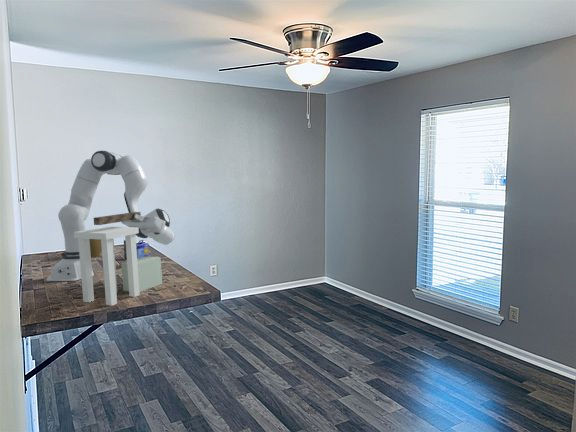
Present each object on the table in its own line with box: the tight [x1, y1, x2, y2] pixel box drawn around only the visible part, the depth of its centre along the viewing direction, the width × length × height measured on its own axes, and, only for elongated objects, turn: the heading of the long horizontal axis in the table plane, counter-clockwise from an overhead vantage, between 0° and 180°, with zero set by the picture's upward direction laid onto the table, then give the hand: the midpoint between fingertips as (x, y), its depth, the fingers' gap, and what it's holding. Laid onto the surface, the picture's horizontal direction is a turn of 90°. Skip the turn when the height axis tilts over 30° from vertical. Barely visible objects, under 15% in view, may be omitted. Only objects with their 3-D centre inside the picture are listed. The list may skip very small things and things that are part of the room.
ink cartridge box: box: [136, 239, 150, 259], centre depth 259 cm, size 10×6×14 cm, turn 158°
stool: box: [74, 226, 141, 307], centre depth 188 cm, size 18×18×30 cm
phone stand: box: [123, 240, 127, 261], centre depth 278 cm, size 9×6×12 cm, turn 29°
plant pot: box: [89, 239, 102, 258], centre depth 290 cm, size 15×15×16 cm
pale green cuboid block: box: [120, 256, 163, 293], centre depth 206 cm, size 16×9×13 cm, turn 156°
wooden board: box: [93, 211, 142, 226], centre depth 192 cm, size 24×3×3 cm, turn 156°
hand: (130, 215), depth 199 cm, fingers closed on wooden board, 3 cm apart
